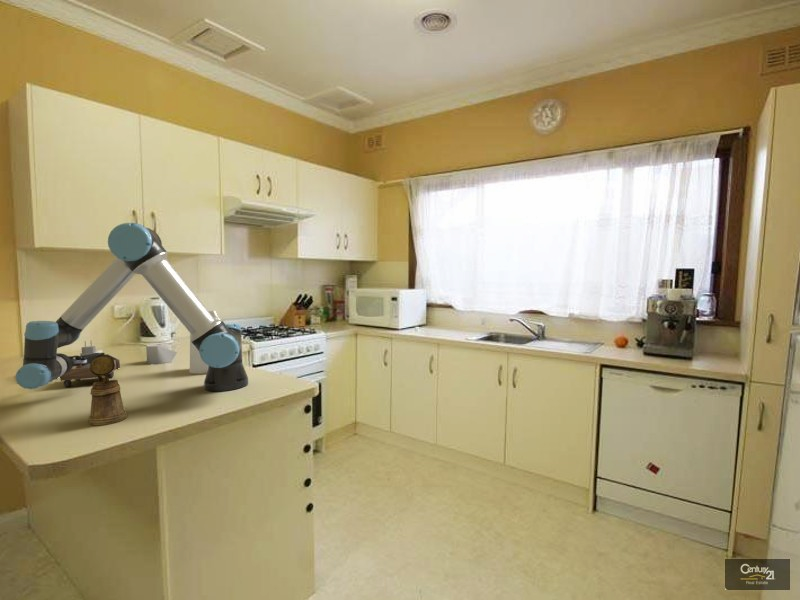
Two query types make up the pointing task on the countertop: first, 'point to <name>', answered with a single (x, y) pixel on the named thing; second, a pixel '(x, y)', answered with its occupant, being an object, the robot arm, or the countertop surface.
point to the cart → (80, 374)
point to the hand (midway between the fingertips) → (79, 354)
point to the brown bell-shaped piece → (105, 394)
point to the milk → (198, 355)
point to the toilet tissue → (159, 353)
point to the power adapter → (87, 352)
